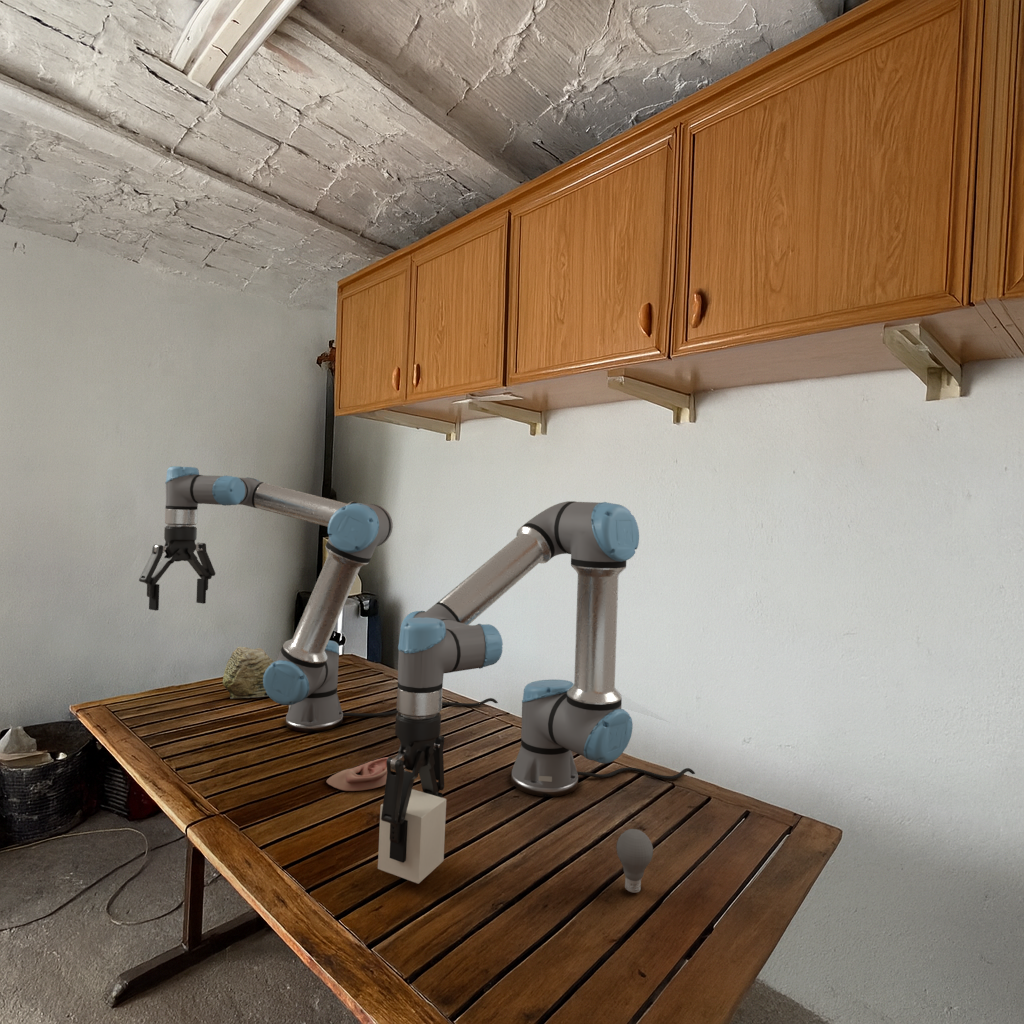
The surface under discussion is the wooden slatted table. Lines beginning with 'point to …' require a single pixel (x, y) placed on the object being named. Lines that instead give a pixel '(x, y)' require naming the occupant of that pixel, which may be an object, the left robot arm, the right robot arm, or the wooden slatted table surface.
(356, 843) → the wooden slatted table surface
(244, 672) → the fossil
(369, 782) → the anatomical model
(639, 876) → the light bulb
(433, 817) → the brick
